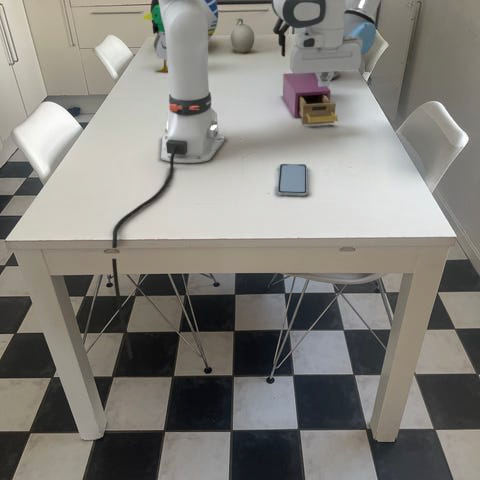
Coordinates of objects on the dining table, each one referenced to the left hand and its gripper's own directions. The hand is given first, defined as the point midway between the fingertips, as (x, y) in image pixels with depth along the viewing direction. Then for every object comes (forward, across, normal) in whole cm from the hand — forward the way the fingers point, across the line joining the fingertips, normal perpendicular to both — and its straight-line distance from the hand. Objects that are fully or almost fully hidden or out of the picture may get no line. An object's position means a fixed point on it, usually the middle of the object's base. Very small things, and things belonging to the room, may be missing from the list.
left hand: (323, 86), depth 151 cm
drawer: (+13, 0, -9) cm, 16 cm away
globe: (+14, +37, -101) cm, 109 cm away
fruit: (+14, +12, -92) cm, 94 cm away
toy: (+14, +44, -70) cm, 84 cm away
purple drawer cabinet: (+14, 0, -21) cm, 25 cm away
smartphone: (+14, +15, +31) cm, 37 cm away
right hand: (-2, 0, -27) cm, 27 cm away
